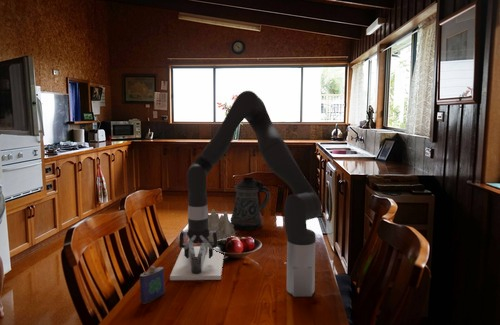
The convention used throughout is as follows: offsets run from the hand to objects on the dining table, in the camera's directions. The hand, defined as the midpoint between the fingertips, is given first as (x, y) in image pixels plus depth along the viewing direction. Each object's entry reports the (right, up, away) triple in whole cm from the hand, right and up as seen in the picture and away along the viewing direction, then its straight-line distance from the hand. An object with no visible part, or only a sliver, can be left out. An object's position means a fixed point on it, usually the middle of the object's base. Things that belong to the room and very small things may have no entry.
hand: (198, 257), depth 150 cm
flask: (-12, -7, -24) cm, 27 cm away
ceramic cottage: (+4, +1, +37) cm, 37 cm away
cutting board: (0, -3, +4) cm, 5 cm away
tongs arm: (-3, -2, +5) cm, 6 cm away
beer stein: (+19, +3, +54) cm, 58 cm away
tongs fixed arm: (0, -2, +3) cm, 4 cm away
